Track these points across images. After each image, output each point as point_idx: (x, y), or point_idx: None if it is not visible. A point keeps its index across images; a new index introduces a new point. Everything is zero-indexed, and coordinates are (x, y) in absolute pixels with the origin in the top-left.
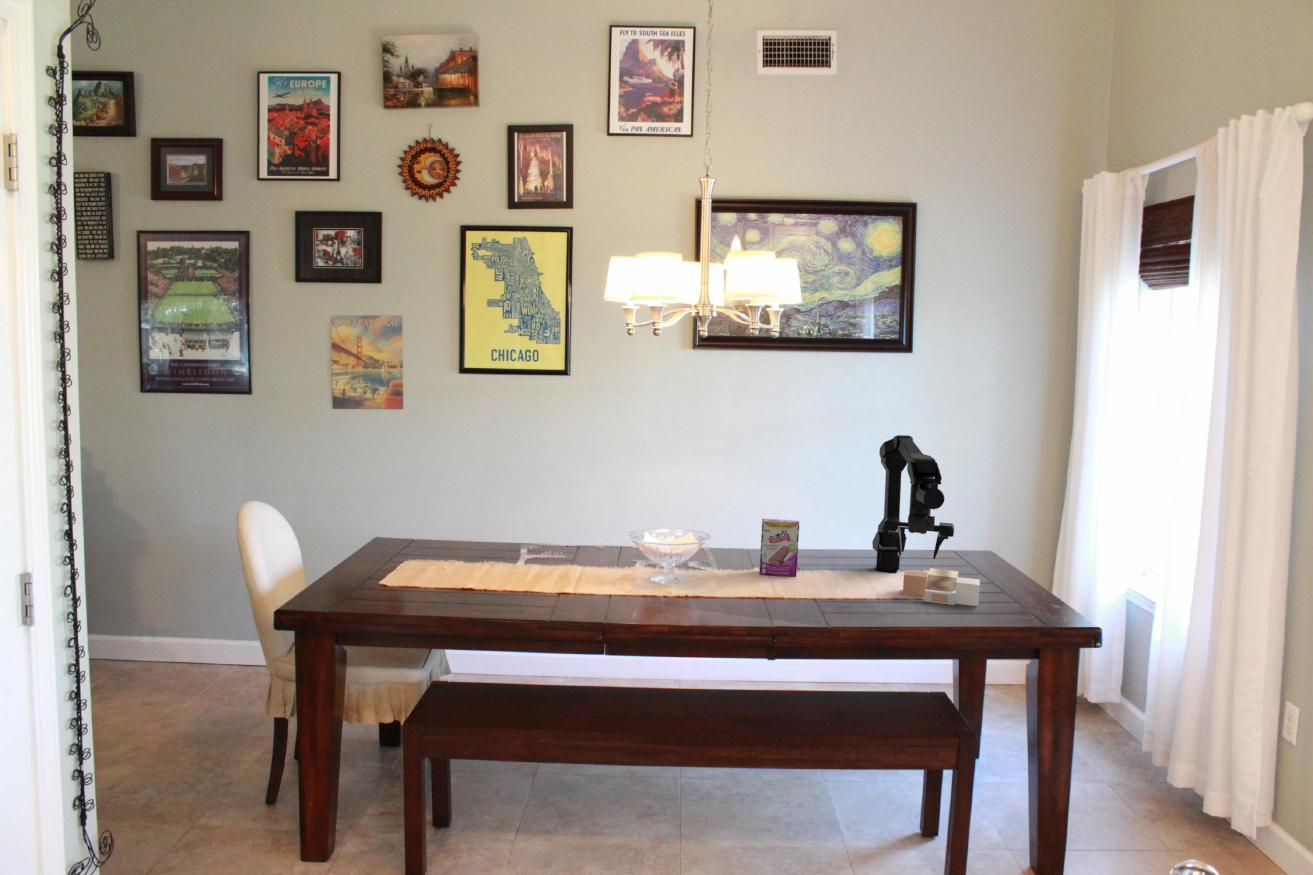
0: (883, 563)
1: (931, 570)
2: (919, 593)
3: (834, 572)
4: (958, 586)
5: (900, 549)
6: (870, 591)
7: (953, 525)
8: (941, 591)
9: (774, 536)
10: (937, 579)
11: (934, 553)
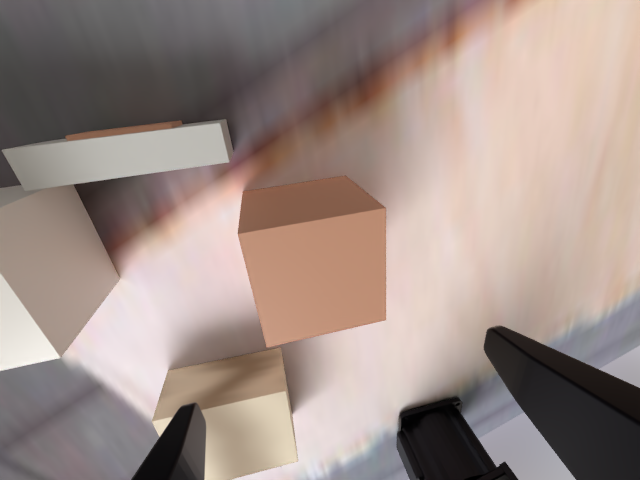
0: (451, 428)
1: (286, 441)
2: (271, 193)
3: (576, 313)
4: None
5: (547, 364)
6: (480, 152)
7: None
8: (121, 171)
9: None
10: (241, 385)
11: (166, 463)
